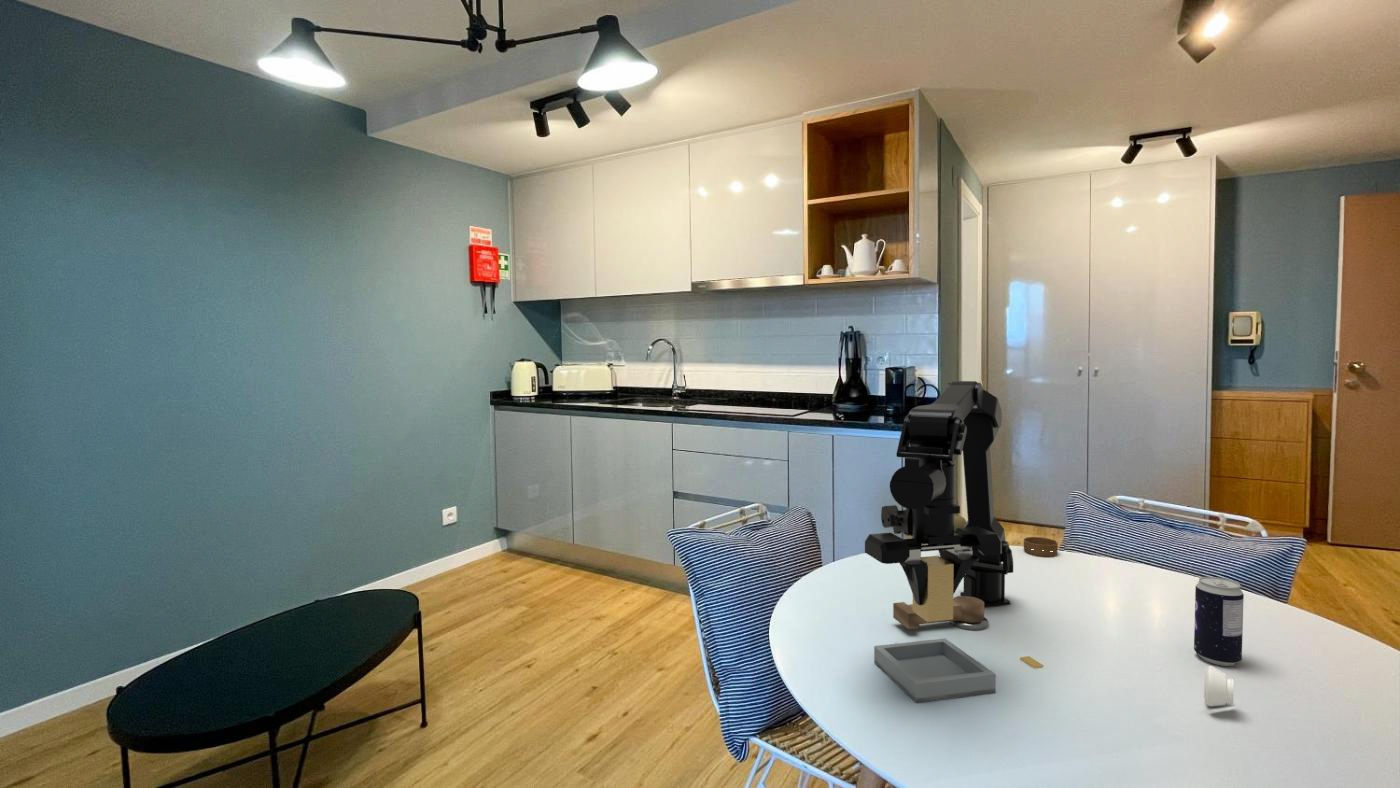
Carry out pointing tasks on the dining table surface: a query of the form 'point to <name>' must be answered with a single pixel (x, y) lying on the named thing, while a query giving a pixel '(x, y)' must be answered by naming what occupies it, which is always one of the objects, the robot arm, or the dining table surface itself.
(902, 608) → the crank
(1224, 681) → the white jar
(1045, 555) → the brown round basket
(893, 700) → the dining table surface
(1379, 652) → the dining table surface
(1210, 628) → the beverage can
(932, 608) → the wooden block
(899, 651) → the tray
